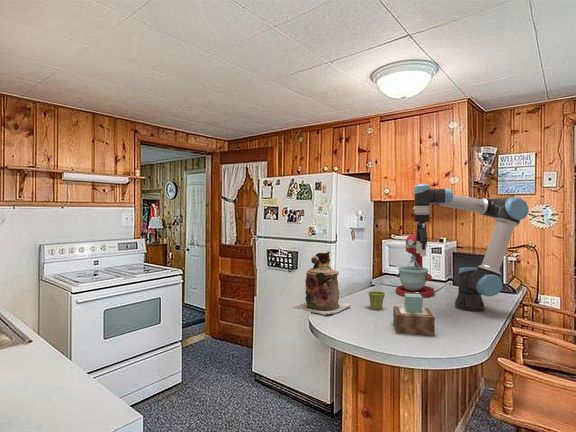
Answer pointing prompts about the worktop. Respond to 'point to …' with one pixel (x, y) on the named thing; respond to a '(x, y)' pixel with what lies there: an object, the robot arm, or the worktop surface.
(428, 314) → the walnut block
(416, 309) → the teal cube
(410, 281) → the stand mixer
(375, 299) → the plant pot
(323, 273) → the cookie jar
